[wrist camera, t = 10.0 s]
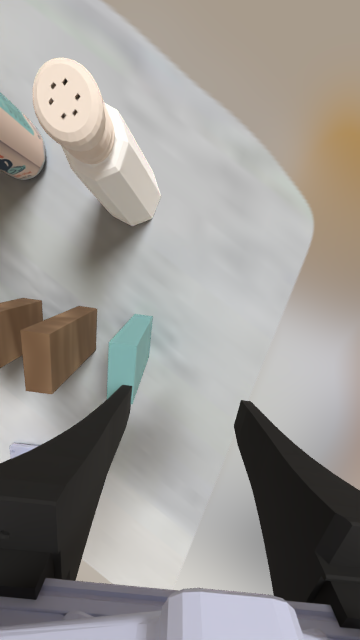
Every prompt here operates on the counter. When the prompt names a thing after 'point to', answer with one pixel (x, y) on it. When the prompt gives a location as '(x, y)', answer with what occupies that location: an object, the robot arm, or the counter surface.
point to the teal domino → (129, 354)
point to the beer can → (19, 143)
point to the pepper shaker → (95, 140)
